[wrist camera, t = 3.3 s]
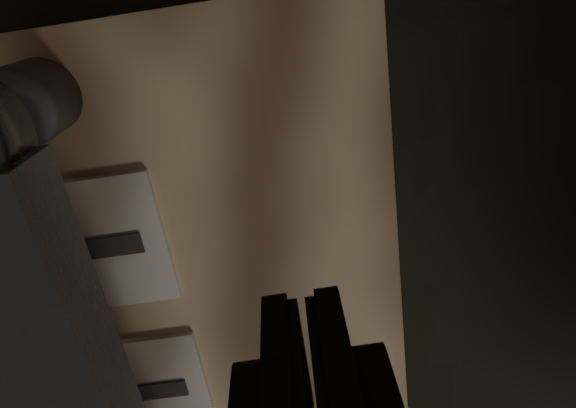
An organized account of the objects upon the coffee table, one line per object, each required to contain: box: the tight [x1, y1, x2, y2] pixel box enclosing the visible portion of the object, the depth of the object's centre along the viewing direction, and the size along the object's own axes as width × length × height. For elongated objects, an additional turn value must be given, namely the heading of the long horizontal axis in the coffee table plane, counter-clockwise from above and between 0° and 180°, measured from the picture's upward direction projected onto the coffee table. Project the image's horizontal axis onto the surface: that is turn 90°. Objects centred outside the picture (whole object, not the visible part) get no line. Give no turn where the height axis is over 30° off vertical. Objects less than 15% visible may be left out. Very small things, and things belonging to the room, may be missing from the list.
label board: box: [0, 0, 408, 408], centre depth 18 cm, size 22×19×6 cm
